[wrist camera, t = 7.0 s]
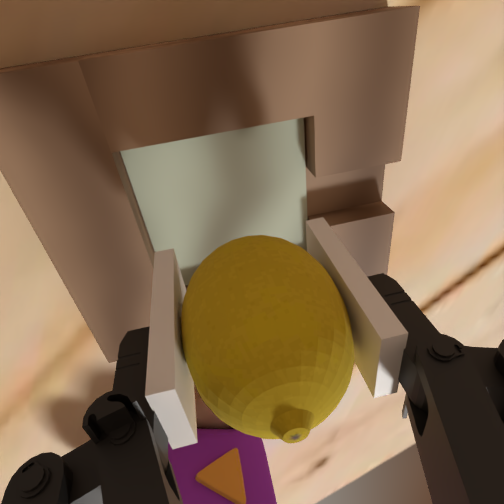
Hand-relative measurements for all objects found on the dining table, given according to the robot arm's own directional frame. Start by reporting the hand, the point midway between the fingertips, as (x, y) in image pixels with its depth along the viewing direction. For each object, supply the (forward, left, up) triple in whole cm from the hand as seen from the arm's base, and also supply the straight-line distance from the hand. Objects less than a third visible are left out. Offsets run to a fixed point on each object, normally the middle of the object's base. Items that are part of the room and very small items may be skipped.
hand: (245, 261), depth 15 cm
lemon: (0, 0, -1) cm, 1 cm away
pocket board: (0, 0, -6) cm, 6 cm away
